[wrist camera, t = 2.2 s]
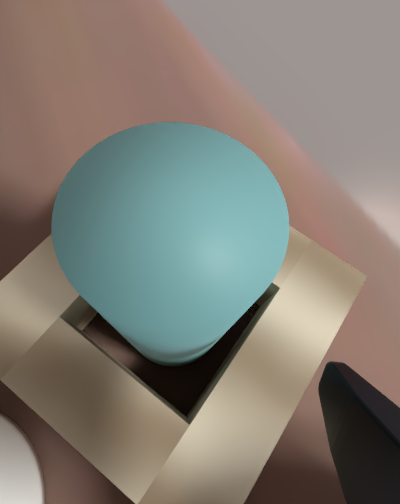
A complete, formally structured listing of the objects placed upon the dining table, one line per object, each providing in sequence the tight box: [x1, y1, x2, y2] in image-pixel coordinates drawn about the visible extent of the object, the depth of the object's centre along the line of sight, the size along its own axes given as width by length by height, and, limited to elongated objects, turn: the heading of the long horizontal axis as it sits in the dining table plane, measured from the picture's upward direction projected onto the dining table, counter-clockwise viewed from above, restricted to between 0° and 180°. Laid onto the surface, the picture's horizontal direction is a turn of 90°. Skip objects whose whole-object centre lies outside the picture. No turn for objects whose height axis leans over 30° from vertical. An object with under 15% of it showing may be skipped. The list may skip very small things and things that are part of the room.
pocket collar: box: [0, 226, 367, 504], centre depth 17 cm, size 14×14×4 cm
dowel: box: [51, 122, 289, 367], centre depth 13 cm, size 5×5×12 cm
